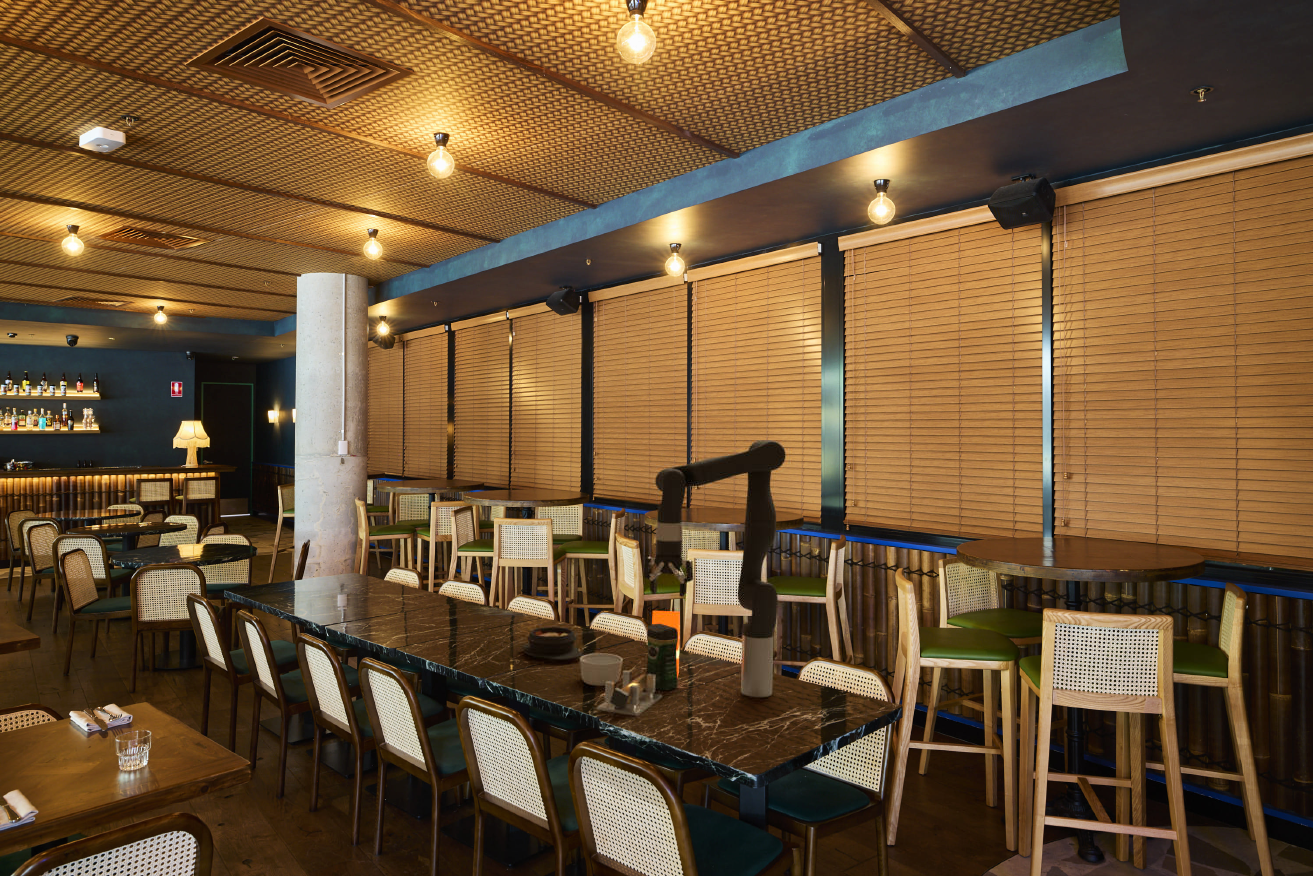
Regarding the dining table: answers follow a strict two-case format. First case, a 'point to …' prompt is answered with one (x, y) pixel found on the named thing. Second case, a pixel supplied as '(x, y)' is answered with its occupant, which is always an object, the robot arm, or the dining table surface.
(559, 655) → the casserole
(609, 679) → the ramekin
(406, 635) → the dining table surface
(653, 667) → the coffee jar
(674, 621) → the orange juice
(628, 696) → the tube
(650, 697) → the white holder rack
